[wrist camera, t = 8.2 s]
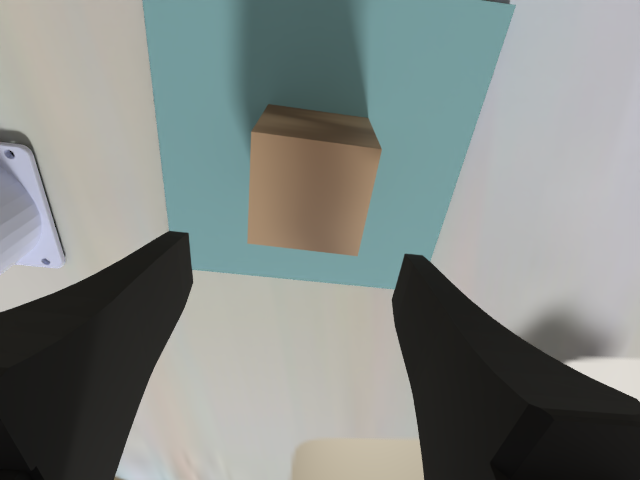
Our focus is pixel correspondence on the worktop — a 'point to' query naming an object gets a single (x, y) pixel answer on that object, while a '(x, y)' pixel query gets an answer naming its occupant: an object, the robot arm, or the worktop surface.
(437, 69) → the mat
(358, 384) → the worktop surface
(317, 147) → the walnut cube
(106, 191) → the worktop surface
